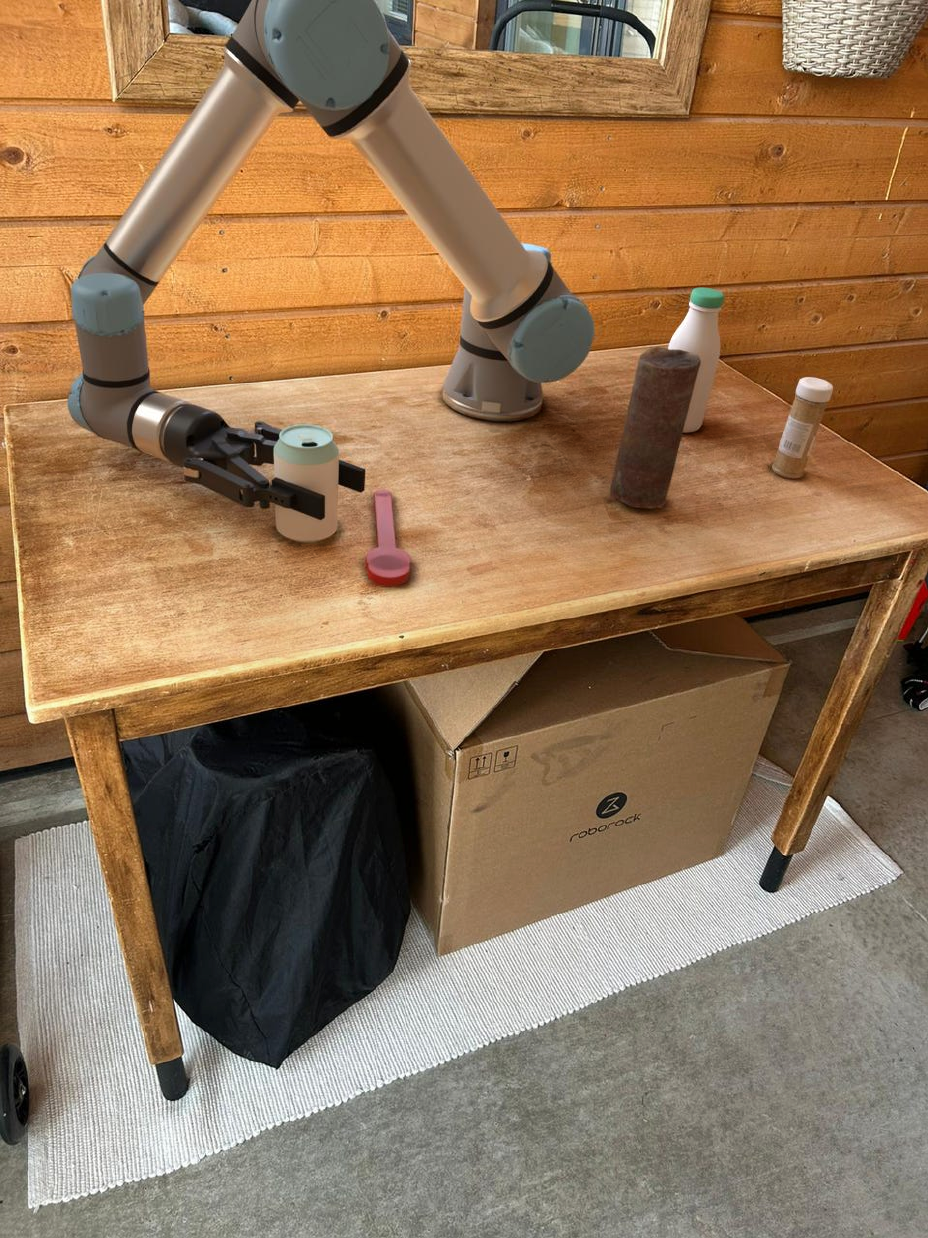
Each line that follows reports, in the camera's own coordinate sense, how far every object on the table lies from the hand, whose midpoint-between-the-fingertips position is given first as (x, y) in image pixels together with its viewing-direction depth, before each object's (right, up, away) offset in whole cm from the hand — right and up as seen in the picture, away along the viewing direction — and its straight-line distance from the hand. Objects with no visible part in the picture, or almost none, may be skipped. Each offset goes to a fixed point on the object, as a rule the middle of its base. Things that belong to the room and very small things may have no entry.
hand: (343, 494), depth 102 cm
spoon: (+4, -5, +5) cm, 8 cm away
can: (-5, -4, +6) cm, 8 cm away
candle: (+36, +1, +19) cm, 40 cm away
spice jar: (+59, +7, +30) cm, 67 cm away
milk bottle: (+46, +16, +41) cm, 63 cm away
